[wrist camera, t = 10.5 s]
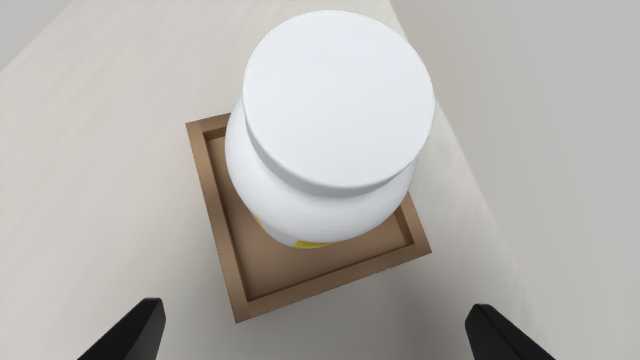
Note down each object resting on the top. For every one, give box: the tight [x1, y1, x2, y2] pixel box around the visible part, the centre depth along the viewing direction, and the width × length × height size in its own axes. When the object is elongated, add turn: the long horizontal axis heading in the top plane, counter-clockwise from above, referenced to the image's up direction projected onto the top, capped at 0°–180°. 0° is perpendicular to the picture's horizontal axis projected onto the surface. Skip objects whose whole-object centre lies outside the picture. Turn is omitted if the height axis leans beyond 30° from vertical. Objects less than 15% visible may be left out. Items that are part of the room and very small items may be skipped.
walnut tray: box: [185, 113, 432, 324], centre depth 19 cm, size 12×12×2 cm
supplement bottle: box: [225, 10, 435, 249], centre depth 14 cm, size 7×7×13 cm
